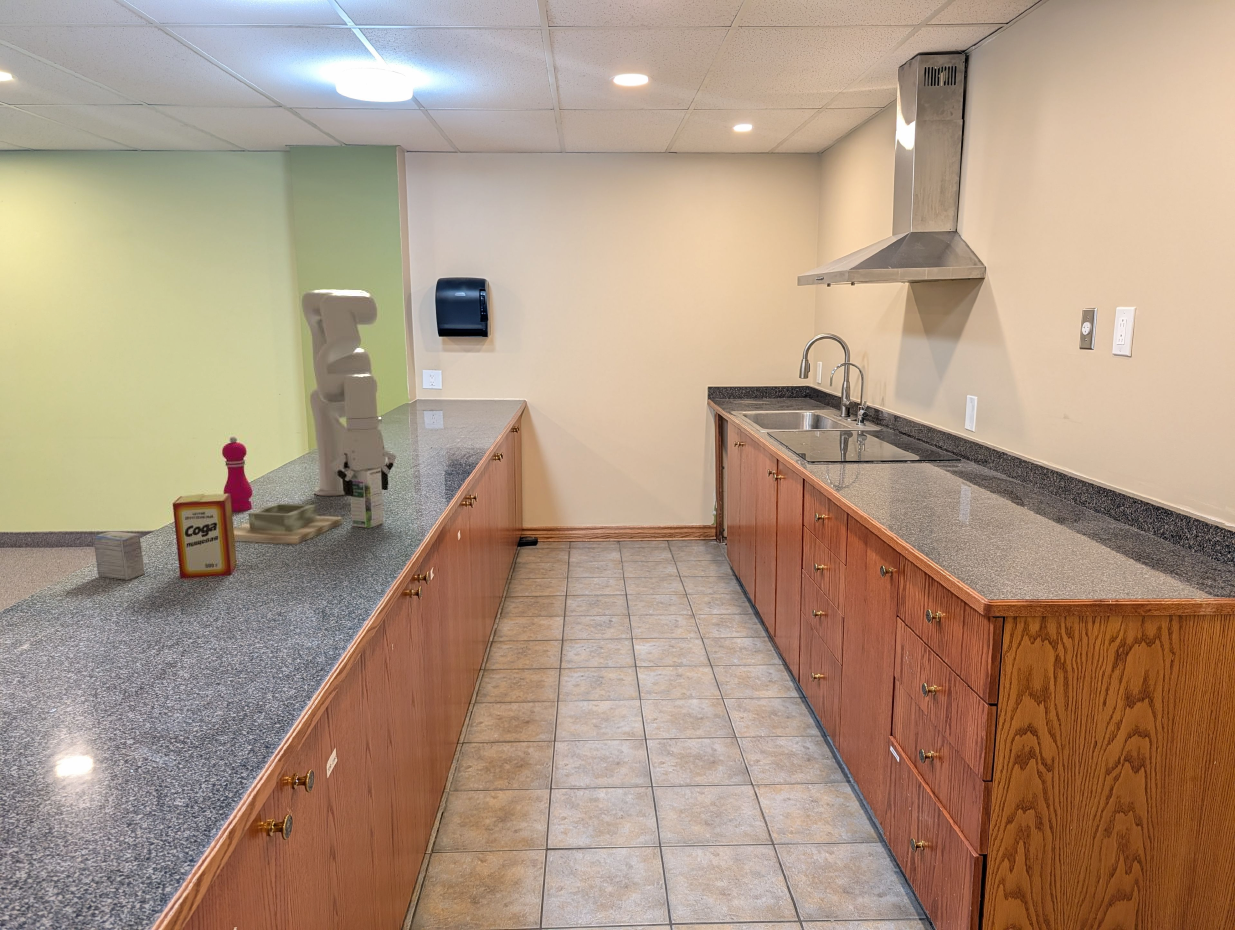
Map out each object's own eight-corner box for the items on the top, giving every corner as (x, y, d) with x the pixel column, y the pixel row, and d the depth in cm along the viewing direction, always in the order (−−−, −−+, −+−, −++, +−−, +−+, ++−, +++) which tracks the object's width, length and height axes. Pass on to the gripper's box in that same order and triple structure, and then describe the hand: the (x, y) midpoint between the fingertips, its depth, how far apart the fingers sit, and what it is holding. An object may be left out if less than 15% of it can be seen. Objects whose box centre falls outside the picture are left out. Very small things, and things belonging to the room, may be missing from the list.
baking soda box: (236, 565, 177) (230, 491, 174) (231, 574, 171) (224, 498, 168) (187, 569, 175) (180, 494, 172) (180, 578, 168) (172, 501, 165)
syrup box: (351, 526, 209) (347, 469, 206) (366, 521, 214) (363, 465, 212) (369, 528, 207) (366, 471, 204) (384, 523, 212) (381, 467, 210)
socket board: (273, 519, 216) (271, 498, 215) (342, 523, 212) (341, 501, 211) (221, 539, 197) (219, 516, 196) (297, 544, 193) (295, 521, 192)
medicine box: (145, 574, 171) (141, 533, 170) (126, 581, 167) (121, 539, 166) (116, 570, 174) (111, 530, 172) (97, 577, 170) (92, 535, 168)
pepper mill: (258, 506, 231) (252, 434, 228) (244, 512, 224) (238, 438, 221) (234, 505, 232) (227, 434, 228) (219, 511, 225) (212, 438, 221)
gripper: (384, 420, 215) (388, 485, 217) (321, 426, 202) (326, 496, 205) (401, 422, 210) (404, 489, 212) (337, 429, 197) (342, 500, 200)
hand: (366, 492), depth 209 cm, fingers open, 9 cm apart
